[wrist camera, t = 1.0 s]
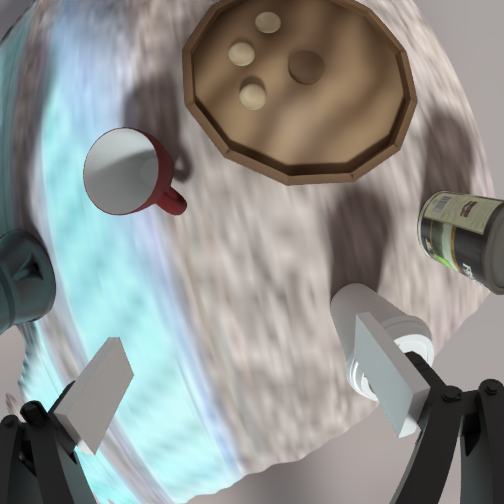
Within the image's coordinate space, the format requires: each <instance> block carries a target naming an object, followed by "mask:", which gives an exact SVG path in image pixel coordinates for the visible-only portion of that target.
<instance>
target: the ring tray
mask: <svg viewBox="0 0 504 504" xmlns="http://www.w3.org/2000/svg"><path fill="white" fill-rule="evenodd" d="M264 12H272V13H274V14H276V15H277V16H278V17H279V18H280V21H281V25H280V28H279V29H278V30H277V31H275V32H273V33H263V32H261V31H259V30H258V29H257V27H256V25H255V20H256V18H257V16H258V15H259V14H261V13H264ZM236 43H247V44H249V45H251V46H252V47H253V49H254V51H255V57H254V60H253V61H252V62H251V63H250V64H248V65H246V66H237V65H235V64H233V63H232V62H231V61H230V59H229V57H228V52H229V49H230V48H231V47H232V46H233V45H234V44H236ZM182 63H183V84H184V101H185V106H186V108H187V109H188V110H189V112H190V113H191V114H192V115H193V117H194V118H195V119H196V121H197V122H198V123H199V125H200V126H201V127H202V129H203V130H204V131H205V132H206V134H207V135H208V136H209V138H210V139H211V140H212V142H213V143H214V144H215V146H216V147H217V148H218V150H219V151H220V152H221V154H222V155H223V156H224V157H225V158H226V159H229V160H231V161H233V162H236V163H238V164H240V165H243V166H245V167H247V168H249V169H251V170H253V171H255V172H258V173H260V174H263V175H265V176H267V177H269V178H271V179H274V180H276V181H278V182H280V183H282V184H284V185H288V186H290V185H304V184H321V183H342V182H354V181H356V180H357V179H359V178H360V177H362V176H363V175H365V174H366V173H368V172H369V171H370V170H372V169H373V168H375V167H376V166H378V165H379V164H381V163H382V162H383V161H385V160H386V159H388V158H389V157H391V156H392V155H394V154H395V153H396V152H398V151H399V150H400V149H401V146H402V144H403V141H404V138H405V136H406V133H407V130H408V128H409V125H410V122H411V119H412V117H413V114H414V111H415V108H416V105H417V96H416V91H415V86H414V81H413V77H412V72H411V68H410V64H409V60H408V56H407V52H406V50H405V49H404V47H403V46H402V45H401V44H400V42H399V41H398V40H397V39H396V37H395V36H394V35H393V34H392V32H391V31H390V30H389V29H388V28H387V27H386V25H385V24H384V23H383V22H382V21H381V20H380V19H379V17H378V16H377V15H376V14H375V13H374V12H373V11H372V10H371V9H370V8H368V7H366V6H365V5H363V4H361V3H359V2H357V1H355V0H222V1H220V2H218V3H216V4H214V5H212V6H211V7H210V8H209V10H208V11H207V12H206V14H205V15H204V17H203V18H202V20H201V21H200V23H199V24H198V26H197V27H196V29H195V30H194V32H193V33H192V35H191V36H190V38H189V39H188V41H187V43H186V44H185V46H184V48H183V49H182ZM250 84H256V85H259V86H261V87H262V88H264V90H265V91H266V94H267V100H266V103H265V104H264V106H262V107H261V108H259V109H256V110H250V109H247V108H245V107H244V106H243V105H242V104H241V102H240V100H239V94H240V92H241V90H242V89H243V88H244V87H245V86H247V85H250Z"/></svg>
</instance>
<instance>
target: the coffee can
mask: <svg viewBox="0 0 504 504" xmlns="http://www.w3.org/2000/svg"><path fill="white" fill-rule="evenodd" d="M418 238H419V242H420V245H421V247H422V249H423V251H424V252H425V254H426V255H427V256H428V257H430V258H431V259H433V260H436V261H438V262H440V263H442V264H444V265H446V266H448V267H450V268H452V269H454V270H456V271H458V272H460V273H461V274H463V275H465V276H467V277H469V278H471V279H473V280H474V281H476V282H478V283H480V284H481V285H483V286H485V287H487V288H488V289H489V290H490V291H492V292H493V293H495V294H497V295H504V200H501V199H495V198H489V197H483V196H476V195H469V194H461V193H454V192H449V191H440V192H437V193H435V194H433V195H432V196H431V197H430V198H429V199H428V200H427V201H426V203H425V204H424V206H423V208H422V210H421V213H420V216H419V221H418Z"/></svg>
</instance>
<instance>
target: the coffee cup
mask: <svg viewBox="0 0 504 504" xmlns="http://www.w3.org/2000/svg"><path fill="white" fill-rule="evenodd" d="M363 312H370V313H371V314H372V316H373V317H374V318H375V319H376V320H377V321H378V323H379V324H380V325H381V326H382V327H383V329H384V330H385V331H386V332H387V333H388V335H389V336H390V337H391V338H392V339H393V341H394V342H395V343H396V344H397V346H398V347H399V348H400V349H401V350H402V352H403V353H406V352H410V351H414V352H415V353H417V354H419V355H421V356H422V357H423V359H424V360H425V361H426V363H428V364H429V366H430V367H431V366H432V363H433V359H434V347H433V338H432V334H431V332H430V330H429V327H428V326H427V324H426V323H425V322H424V321H423V320H421V319H420V318H418V317H415V316H410V315H407V314H405V313H404V312H402V311H401V310H400V309H398V308H397V307H395V306H394V305H393V304H391V303H390V302H388V301H387V300H386V299H384V298H383V297H381V296H380V295H379V294H377V293H376V292H374V291H373V290H372V289H370V288H369V287H367V286H366V285H364V284H360V283H352V284H349V285H346V286H344V287H343V288H341V289H340V290H339V291H338V292H337V293H336V294H335V295H334V297H333V299H332V301H331V305H330V313H331V316H332V319H333V322H334V325H335V328H336V331H337V333H338V336H339V339H340V342H341V345H342V348H343V351H344V354H345V357H346V360H347V368H346V374H347V379H348V382H349V384H350V385H351V386H352V387H353V388H354V389H355V390H356V391H357V392H358V393H360V394H361V395H363V396H365V397H368V398H369V399H371V400H374V401H379V400H378V398H377V397H376V395H375V393H374V391H373V389H372V387H371V385H370V384H369V382H368V380H367V378H366V376H365V375H364V373H363V371H362V369H361V367H360V365H359V364H358V362H357V360H356V358H355V357H354V345H355V327H356V314H358V313H363Z"/></svg>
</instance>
